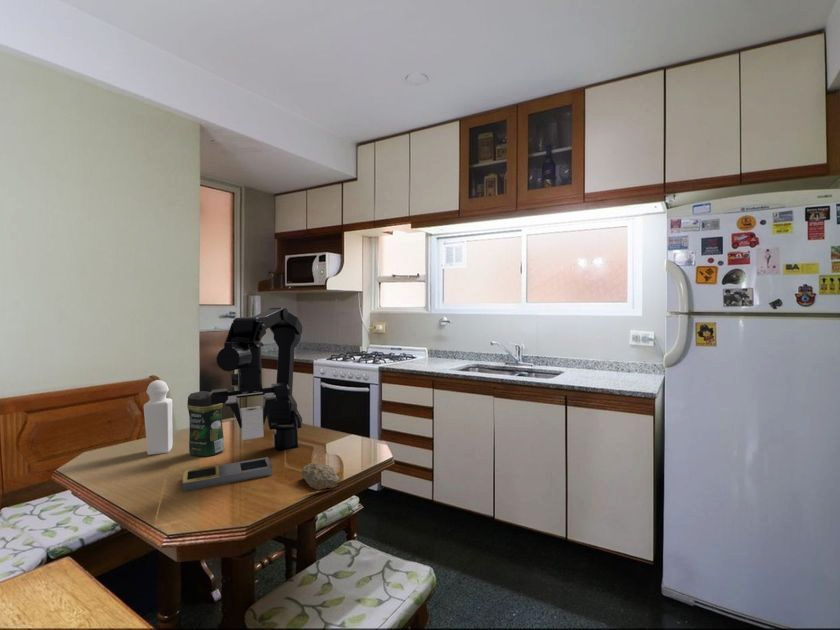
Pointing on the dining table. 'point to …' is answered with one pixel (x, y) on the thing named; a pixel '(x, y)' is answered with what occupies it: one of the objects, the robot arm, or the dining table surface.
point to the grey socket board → (225, 473)
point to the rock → (320, 476)
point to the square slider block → (252, 422)
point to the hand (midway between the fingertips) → (251, 426)
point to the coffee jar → (205, 425)
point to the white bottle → (158, 418)
